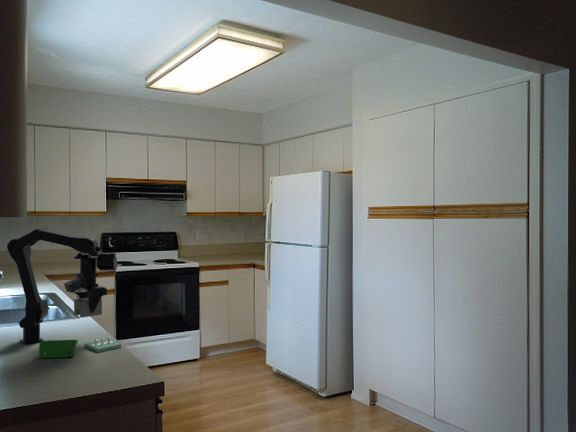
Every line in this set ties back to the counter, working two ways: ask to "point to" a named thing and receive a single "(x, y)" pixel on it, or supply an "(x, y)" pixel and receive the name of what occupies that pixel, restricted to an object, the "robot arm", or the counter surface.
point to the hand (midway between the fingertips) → (87, 311)
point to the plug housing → (86, 308)
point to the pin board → (102, 345)
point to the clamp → (57, 348)
